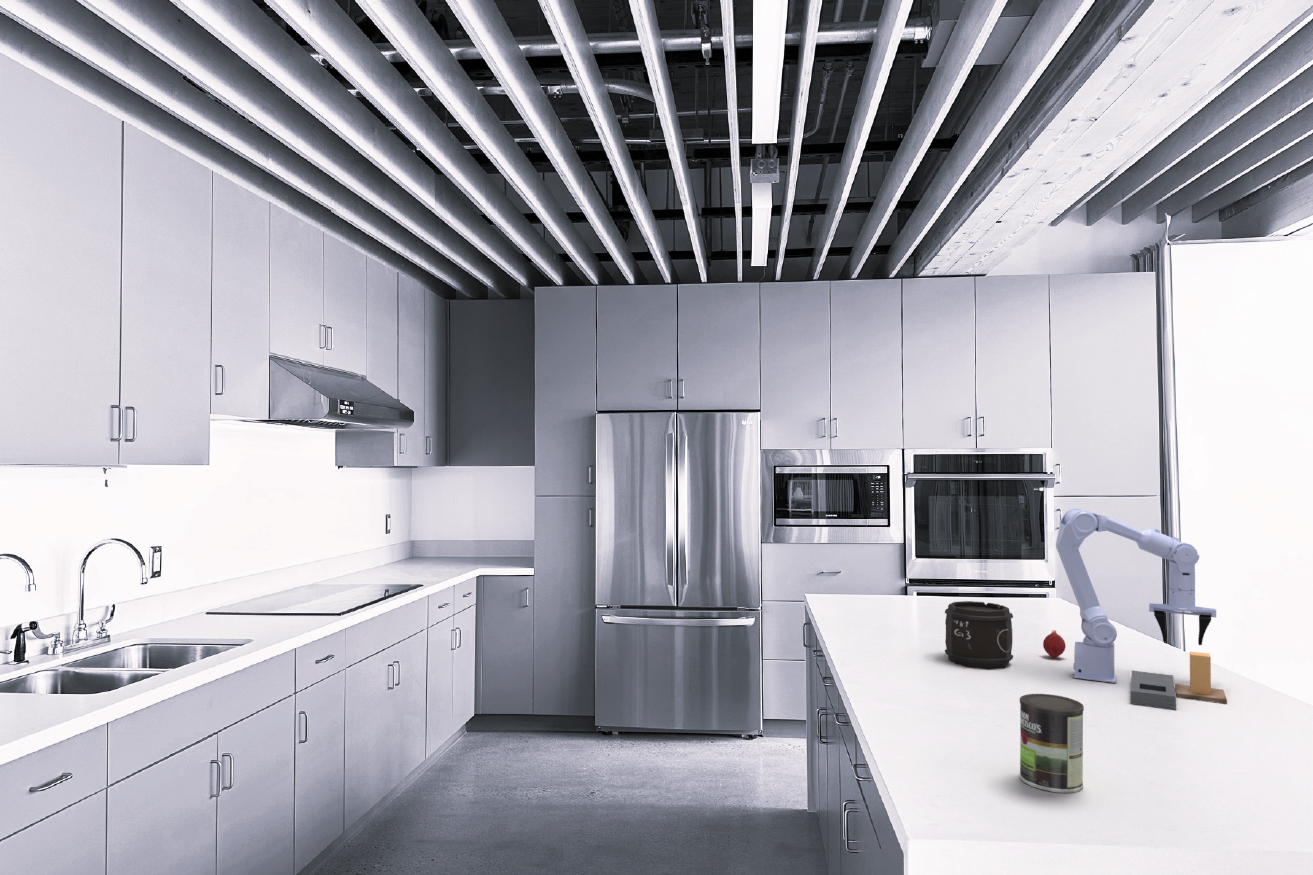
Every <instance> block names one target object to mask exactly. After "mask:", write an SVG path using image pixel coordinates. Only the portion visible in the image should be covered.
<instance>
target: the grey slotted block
mask: <svg viewBox="0 0 1313 875" xmlns="http://www.w3.org/2000/svg"><path fill="white" fill-rule="evenodd" d="M1130 679H1131V680H1130V705H1137V706H1143V707H1151V708H1159V709H1165V710H1174V711H1176V710H1177V696H1176V689H1175V680H1174V675H1172V674H1164V673H1154V672H1146V671H1138V670H1131V678H1130Z"/></svg>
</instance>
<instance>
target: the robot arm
mask: <svg viewBox="0 0 1313 875" xmlns="http://www.w3.org/2000/svg"><path fill="white" fill-rule="evenodd" d="M1058 527H1059V528H1058V532H1057V537H1056V542H1055V547H1056V550H1057V552H1058V555H1059V558H1060V561H1061V563H1062V566H1063V569H1064V571H1065V573H1066V576H1067V579H1068V583H1069V584H1070V587H1071V589H1072V591H1073V594H1074V597H1075V599H1076V602H1077V604H1078V607H1079V616H1080V618H1081V626H1080V627H1081V628H1080V629H1081V631H1082V633H1083V634H1084V635H1085V636H1084V638H1083V640H1082V641H1075V642H1074V655H1073V656H1074V662H1073V670H1074V676H1073V677H1074V679H1081V680H1089V681H1096V682H1097V681H1098V682H1104V683H1105V682H1106V683H1112V684H1116V683H1117V674H1115V641H1116V639H1117V637H1118V634H1117V633H1118V632H1117V629H1116V627H1115V626H1114V625H1113V624H1112V623H1111V622H1110V621H1109V619H1108V616H1107V614H1106V612H1105V611H1104V609H1103V608H1102V606H1101V604H1100V602H1099V599H1098V596H1097V594H1096V591H1095V589H1094V588H1095V587H1094V586H1093V582H1092V581H1091V578H1090V576H1089V573H1088V570H1087V568H1086V566H1085V563H1084V560H1083V558H1082V555H1081V552H1080V547H1081V545H1082V544H1083V542H1084V541H1085V539H1086V538H1087V537H1089V536H1090V535H1092V534H1093V533H1094V532H1099V533H1100V532H1109V533H1113V534H1115V535H1118V536H1120V537H1123V538H1126V539H1128V540H1132V541H1133V542H1135V543H1136V544H1137V546H1138V548H1139V550H1141V551H1144V552H1147V553H1150V554H1152V555H1154V556H1157V557H1158V558H1159V557H1160V558H1161V559H1166V560H1167V561H1168V603H1151V602H1149V603H1148V608H1149V609H1148V612H1150V613H1151V612H1152V613H1153V616H1154V618H1155V620H1156V622H1157V624H1158V626H1159V630H1160V631H1161V632H1160V633H1161V636H1162V642H1167V630H1166V614H1167V613H1168V614H1175V615H1176V614H1178V615H1187V616H1189V615H1190V616H1198V638H1197V639H1198V640H1197V641H1198V642H1197V643H1198V646H1202V645H1203V642H1204V641H1203V640H1204V636H1205V634H1206V630H1207V629H1208V627H1209V625H1210V623H1211V621H1212V618H1217V609H1216V608H1213V607H1212V608H1209V607H1202V606H1196V564H1197V563H1198V561H1199V560H1200V554H1199V553H1198V551H1197V549H1196V548H1195V546H1193V545H1192V544H1189V543H1187V542H1182V541H1181V540H1180V538H1178V537H1177V536H1173V537H1171V536H1168V535H1167V534H1163V533H1162V532H1161V530H1160V529H1157V528H1153V529H1152V528H1147V529H1144V530H1140V529H1138V528H1135V527H1133V526H1130V525H1128V524H1126V523H1123V522H1121V521H1119V520H1117V519H1114V518H1112V517H1110V516H1107V515H1102V514H1098V513H1095V512H1090V511H1088V510H1082V509H1079V508H1072V509H1069V510H1067V511H1066V512H1065V513H1064V515H1063V516H1062V517H1061V519H1060V520H1059V526H1058Z"/></svg>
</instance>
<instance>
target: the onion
mask: <svg viewBox="0 0 1313 875" xmlns="http://www.w3.org/2000/svg"><path fill="white" fill-rule="evenodd" d="M1042 646H1043V649H1044V651H1045V652H1046V653H1047V655H1048V656H1050V657H1051V658H1052V659H1057V658H1059V657H1060V656H1061V655H1062V654H1064V652H1065V650H1066V648H1067V647H1066V641H1065V639H1064V638H1063V637H1062V636H1061V635H1060V634H1058V633H1057V630H1055V629H1053V630H1052V631H1051V633H1050V634H1048V635H1046V637H1045V638H1044V639H1043V643H1042Z"/></svg>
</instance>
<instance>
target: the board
mask: <svg viewBox="0 0 1313 875" xmlns="http://www.w3.org/2000/svg"><path fill="white" fill-rule="evenodd" d="M1174 687H1175V694H1176V699H1177V698H1179V699H1186V700H1193V699H1196V700H1195V701H1200V700H1202V702H1208V701H1214V702H1213V703H1216V702H1219V703H1218V704H1225V705H1227V704H1228V699H1227V696H1226V693H1225V690H1224V689H1222V688H1214V687H1211V695H1209V694H1201V693H1193V692H1191V690H1190V684H1189V685H1188V684H1181V683H1174Z"/></svg>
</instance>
